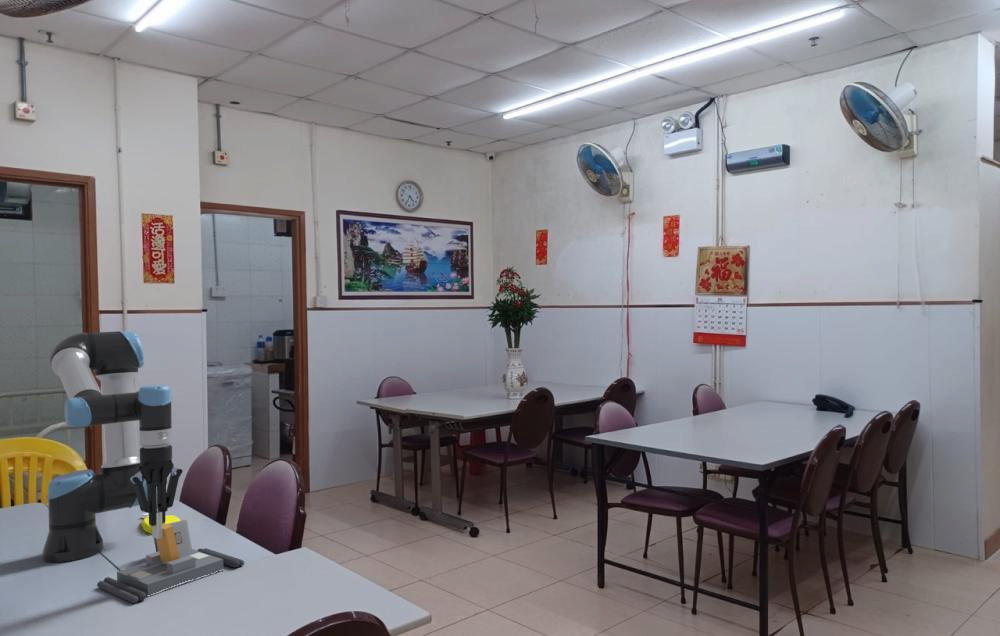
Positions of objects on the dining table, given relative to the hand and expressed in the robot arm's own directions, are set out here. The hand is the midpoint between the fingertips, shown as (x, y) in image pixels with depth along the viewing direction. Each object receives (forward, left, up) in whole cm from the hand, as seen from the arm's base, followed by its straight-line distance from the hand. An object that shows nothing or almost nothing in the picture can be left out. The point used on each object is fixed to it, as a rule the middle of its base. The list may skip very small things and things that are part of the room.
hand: (157, 537), depth 177 cm
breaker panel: (0, +3, -11) cm, 12 cm away
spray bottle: (-52, +26, -12) cm, 59 cm away
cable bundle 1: (0, -9, -11) cm, 14 cm away
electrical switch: (-17, +12, -12) cm, 24 cm away
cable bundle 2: (0, +16, -11) cm, 20 cm away
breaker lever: (0, +3, -7) cm, 8 cm away
